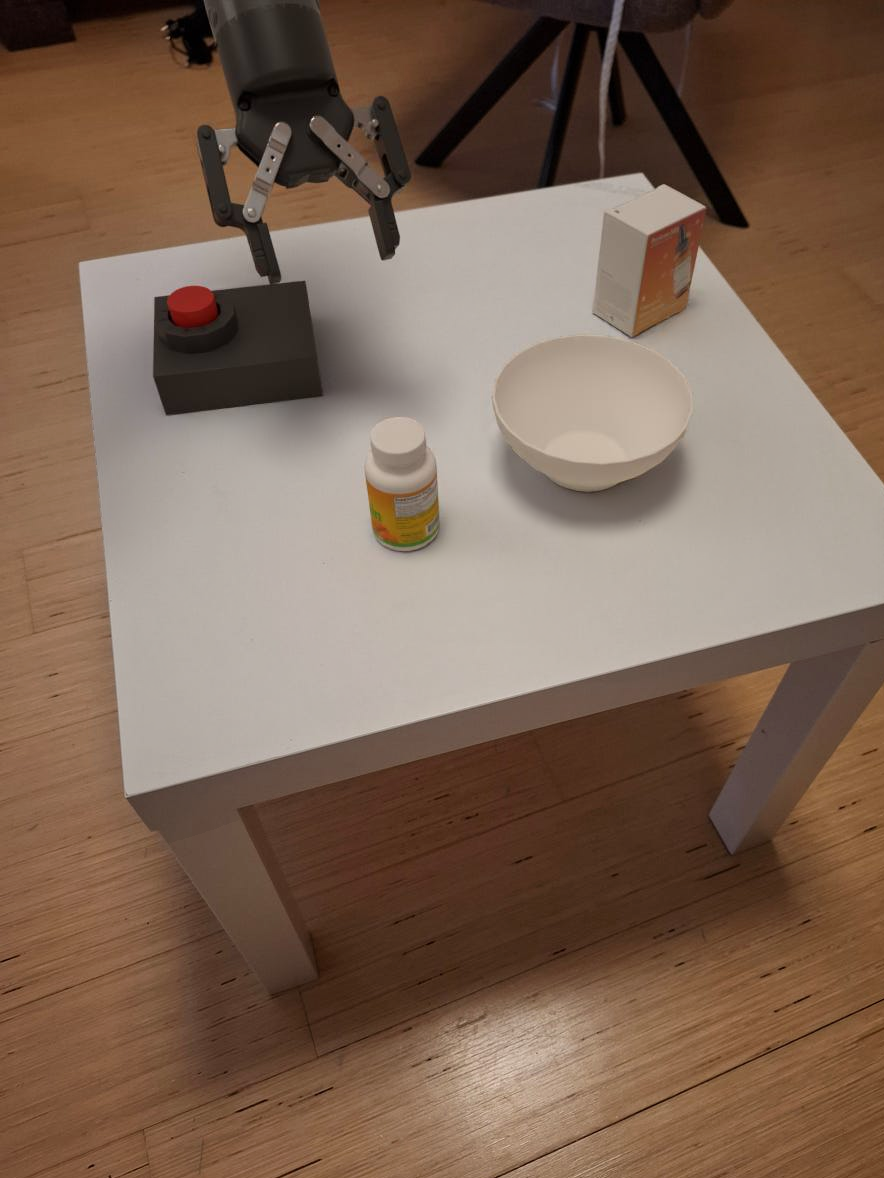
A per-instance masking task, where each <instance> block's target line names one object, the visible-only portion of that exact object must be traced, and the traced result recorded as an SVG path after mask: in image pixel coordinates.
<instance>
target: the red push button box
mask: <svg viewBox="0 0 884 1178" xmlns="http://www.w3.org/2000/svg"><path fill="white" fill-rule="evenodd" d="M211 291H212V293H213V294H214V298H215V302H216V306H217V310H218V316H217V318H216V319H215V320H214V321H213V322H211V323H209V324H206V325H204V326H202V327H194V328H184V327H179V326H177V325H176V324H175V323H174V322H173V320H172V317H171V314H170V310H169V307H168V304H167V300H168V297H169V296H170V294H168V295H167V294H166V295H159V296H154V300H153V308H154V309H153V348H152V349H153V354H152V358H153V360H152V363H153V364H152V378H153V381H154V385H155V387H156V390H157V393H158V395H159V399H160V402H161V404H162V408H163V410H164V414H165V415H166V416H171V415H178V414H179V415H180V414H187V413H194V412H201V411H202V412H203V411H211V410H218V409H226V408H234V407H241V406H242V407H243V406H251V405H258V404H259V405H260V404H267V403H274V402H275V403H277V402H282V401H283V402H284V401H291V400H299V399H306V398H307V399H308V398H314V397H323V396H324V391H323V385H322V379H321V377H322V376H321V371H320V366H319V365H320V364H319V359H318V352H317V345H316V338H315V332H314V325H313V318H312V312H311V307H310V301H309V293H308V289H307V281H306V279H305V280H297V281H296V280H295V281H287V282H279V283H275V284H270V283H269V284H268V283H267V284H260V285H258V284H257V285H251V286H250V285H249V286H241V287H232V288H231V287H230V288H223V289H213V290H211Z"/></svg>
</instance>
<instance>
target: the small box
mask: <svg viewBox="0 0 884 1178" xmlns="http://www.w3.org/2000/svg"><path fill="white" fill-rule="evenodd" d="M706 214H707V207H706V206H705V205H704V204H702V203H700V202H698V201H696V200H695V199H692V198H691V197H689V196H688V195H685V194H684V193H681V192H680V191H678V190H676V189H674V188H672V187H671V186H669V185H667V184H663V183H662V184H661V185H658V186H657V187H656V188H654V189H652V190H650V191H647V192H646V193H643V194H641V195H639V196H637V197H634V198H633V199H630V200H628V201H626V202H624V203H622V204H619V205H616V206H615V207H612V208H609V209H606V210H604V211H603V219H602V225H601V226H602V228H601V234H600V235H601V236H600V245H599V253H598V263H597V270H596V271H597V272H596V277H595V279H596V280H595V288H594V296H593V305H592V313H593V314H595V315H596V316H598V317H599V318H601V319H602V320H604V321H605V322H607V323H609V324H610V325H612V326H613V327H615V328H617V329H618V330H619V331H621V332H623V333H625V334H626V335H627V336H629V337H631V338H633V337H635V336H637V335H638V334H640V333H641V332H643V331H645V330H647V329H649V328H650V327H652V326H654V325H656V324H658V323H660V322H662V321H664V320H666V319H668V318H670V317H671V316H674V315H676V314H677V313H680V312H682V311H684V310H685V309H686V308H687V305H688V301H689V297H690V291H691V287H692V282H693V278H694V277H693V276H694V271H695V267H696V261H697V256H698V252H699V248H700V243H701V242H700V241H701V237H702V233H703V229H704V223H705V218H706Z"/></svg>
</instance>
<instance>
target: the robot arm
mask: <svg viewBox="0 0 884 1178" xmlns="http://www.w3.org/2000/svg"><path fill="white" fill-rule="evenodd" d="M203 4H204V8H205V11H206V15H207V19H208V23H209V27H210V30H211V34H212V37H213V41H214V44H215V48H216V51H217V53H218V59H219V61H220V65H221V69H222V72H223V76H224V80H225V83H226V86H227V91H228V93H229V97H230V101H231V104H232V108H233V112H234V116H235V126H234V127H229V128H228V127H227V128H219V129H218V128H217V129H214V128H213V127H212V125H211V126H210V125H209V124H202V125H200V126H199V127H198V128H197V131H196V148H197V155H198V159H199V163H200V167H201V171H202V175H203V179H204V184H205V188H206V193H207V197H208V202H209V206H210V210H211V214H212V218H213V222H214V223H215V224H216V226H218V227H219V228H226V227H232V228H235V229H236V228H237V229H240V230H241V231H242V232H243V233H244V235H245V237H246V240H247V244H248V246H249V250H250V255H251V257H252V261H253V264H254V268H255V271H256V273H257V274H258V276H259V277H260V278H264V277H266V278H267V281H268V283H269V284H277V283H281V281H282V273H281V268H280V265H279V262H278V258H277V255H276V251H275V248H274V244H273V240H272V237H271V233H270V230H269V226H268V223H267V222H263V218H262V216H263V214H264V212H265V209H266V206H267V204H268V201H269V199H270V196H271V194H272V191H273V188H274V186H275V184H276V185H279V186H281V187H284V188H285V189H286V190H289V189H294V188H298V187H300V186H302V185H304V184H306V183H309V184H323V183H327V182H329V180H330V179H331V178H333V177H336V178H337V180H339V182H341V183H342V184H343V185H344V186H345V187H347V188H348V189H351V190H353V191H354V192H355V193H356V194H358V195H359V196H360V197H361V198H362V199H363V200H364V201H365V202H366V203H367V204H368V205H369V208H368V210H367V212H368V215H369V220H370V223H371V224H370V225H371V227H372V231H373V235H374V239H375V243H376V247H377V250H378V251H377V252H378V255H379V258H380V261H388V260H392V259H393V257H394V256H395V255H396V249H397V248H398V247H399V246H400V242H401V235H400V230H399V227H398V223H397V219H396V215H395V212H394V207H393V204H392V200H393V199H392V198H394V197H395V196H396V195H399V194H401V193H402V192H403V191H404V189H405V188H406V187H407V185H408V184H409V182H410V181H411V180H412V179H411V178H412V172H411V170H410V166H409V163H408V159H407V157H406V153H405V150H404V146H403V144H402V140H401V136H400V133H399V130H398V127H397V124H396V123H397V122H396V120H395V117H394V113H393V111H392V107H391V104H390V101H389V99H388V98H387V97H386V96H384V95H378V96H376V97H374V99H373V101H372V102H371V103H370V104H365V105H361V106H357V107H352V108H351V107H350V106H349V105H348V104H347V102H346V101H345V99H344V97H343V96H342V92H341V89H340V88H341V87H340V85H339V81H338V77H337V73H336V70H335V69H336V68H335V65H334V61H333V57H332V54H331V53H332V52H331V49H330V46H329V41H328V38H327V35H326V30H325V26H324V23H323V18H322V14H321V5H320V4H321V3H320V0H203ZM354 128H357V129H360V131H362V134H363V135H364V137H365V138H366V139H368V140H369V141H373V142H374V145H375V149H376V152H377V155H378V158H379V159H378V160H379V161H380V165H381V168H382V172H383V175H384V177H381V176H380V175H379V174H378V173H377V172H376V171H375V170H374V169H373V168H372V167H371V166H370V165H369V163H368V161H367V159H366V158H365V157H364V156H363V155H362V154H361V153H360V152H359V151H358V150H357V149H355V148H354V147H353V146H352V145H351V144H350V143H349V141H350V138H351V136H352V133H353V130H354ZM235 147H237V148H238V150H239V151H240V152H241V153H242V154H243V155H244V156H245V157H246V158H247V159H248V160H250V161H251V163H253V164H254V165H255V166H256V167H257V168H258V169H257V171H256V173H255V176H254V179H253V182H252V185H251V187H250V190H249V193H248V196H247V198H246V200H245V203H244V204H242V203H236V202H232V201H231V197H230V191H229V186H228V183H227V179H226V178H227V177H226V175H225V170H224V167H225V166H227V165H228V164H229V162H230V160H231V151H232V149H234V148H235Z"/></svg>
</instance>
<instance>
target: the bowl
mask: <svg viewBox="0 0 884 1178" xmlns="http://www.w3.org/2000/svg"><path fill="white" fill-rule="evenodd" d="M491 401H492V407H493V408H492V409H493V412H494V416H495V421H496V424H497V426H498V429H499V430H500V432H501V434H502V436H503V437H504V439H505V440H506V442H507V443H508V444H509V446H510V447H511V449H512V450H513V451H514V453H516V454H517V456H519V457H520V458H521V459H522V460H524V461H525V462H526V463H527V464H528V465H530V466H531V467H532V468H533V469H535V470H536V471H538V472H540V473H542V474H544V475H546V477H547V478H548V479H549V480H551V481H552V482H553V483H554V484H556V485H559V486H561V487H563V488H565V489H567V490H568V489H569V490H572V491H576V492H584V493H585V492H587V493H591V492H601V491H603V490H606V489H610V488H613V487H614V486H616V485H617V484H620V483H622V482H625V481H627V480H631V479H634V478H637V477H638V476H641V475H644V474H645V473H646V472H648V471H650V470H651V469H653V468H655V467H656V466H659V464H660V463H662V462H664V460H666V458H667V457H668V456H669V455H670V454H671V453H672V452H673V451H674V450H675V448H676V447H677V446H678V445H679V444H680V442H681V441H682V440H683V439H684V437H685V435H686V432H687V430H688V427H689V424H690V422H691V419H692V416H693V414H694V412H695V411H694V393H693V391H692V389H691V387H690V384H689V382H688V380H687V377H686V376H685V375H684V374H683V373H682V372H681V370H679V368H678V367H677V366H676V365H675V364H674V363H673V362H672V361H670V360H669V359H667V358H666V357H664V356H663V355H662V354H660V353H659V352H657V351H656V350H654V349H651V348H650V347H646V346H644V345H642V344H640V343H638V342H635V341H632V340H628V339H623V338H619V337H615V336H611V335H602V334H600V335H598V334H586V333H582V334H572V335H562V336H557V337H553V338H549V339H545V340H542V341H538V342H536V343H533V344H532V345H530V346H527V347H526V348H523V349H522V350H520V351H518V352H517V353H515V354H514V355H513V356H512V357H510V359H509V360H508V361H506V362H505V363H504V364H503V365H502V367H501V368H500V370H499V371H498V373H497V375H496V377H495V379H494V380H493V387H492V392H491Z"/></svg>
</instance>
